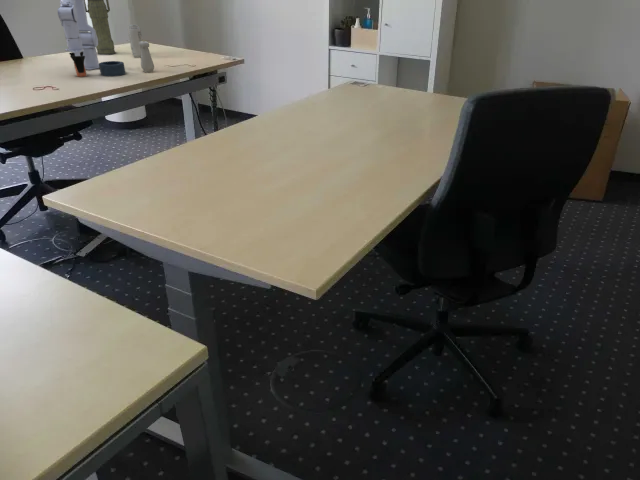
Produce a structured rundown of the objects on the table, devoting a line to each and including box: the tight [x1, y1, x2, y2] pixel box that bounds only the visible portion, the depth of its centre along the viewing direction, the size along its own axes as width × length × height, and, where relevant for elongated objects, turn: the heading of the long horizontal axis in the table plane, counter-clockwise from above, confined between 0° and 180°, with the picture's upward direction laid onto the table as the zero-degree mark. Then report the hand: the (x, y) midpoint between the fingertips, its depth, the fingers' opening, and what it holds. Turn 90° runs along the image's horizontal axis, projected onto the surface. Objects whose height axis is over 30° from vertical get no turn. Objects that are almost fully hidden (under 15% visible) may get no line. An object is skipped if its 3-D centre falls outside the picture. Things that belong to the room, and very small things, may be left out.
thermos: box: [84, 0, 116, 56], centre depth 277 cm, size 9×12×35 cm
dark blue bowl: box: [99, 60, 126, 77], centre depth 241 cm, size 10×10×5 cm
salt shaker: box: [139, 40, 155, 73], centre depth 246 cm, size 6×6×13 cm
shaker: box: [73, 62, 88, 78], centre depth 235 cm, size 4×4×7 cm
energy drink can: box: [127, 24, 143, 58], centre depth 277 cm, size 6×6×15 cm
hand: (80, 71), depth 236 cm, fingers open, 7 cm apart
